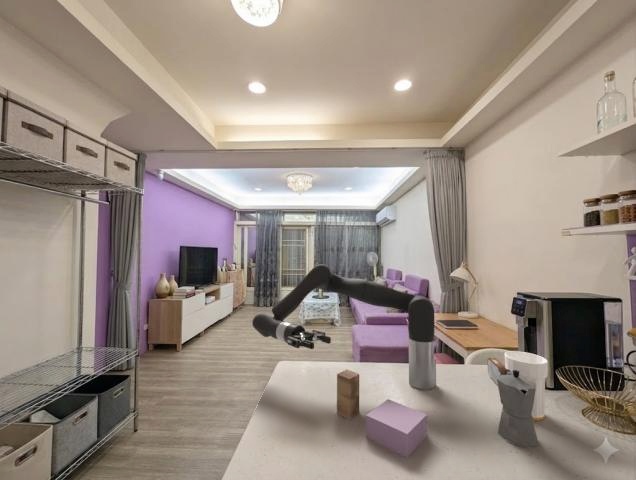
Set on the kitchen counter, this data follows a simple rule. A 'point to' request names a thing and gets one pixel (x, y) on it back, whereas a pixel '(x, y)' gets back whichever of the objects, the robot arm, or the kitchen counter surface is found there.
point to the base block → (396, 427)
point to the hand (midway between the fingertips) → (322, 343)
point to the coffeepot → (517, 409)
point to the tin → (495, 368)
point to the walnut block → (348, 393)
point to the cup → (530, 376)
